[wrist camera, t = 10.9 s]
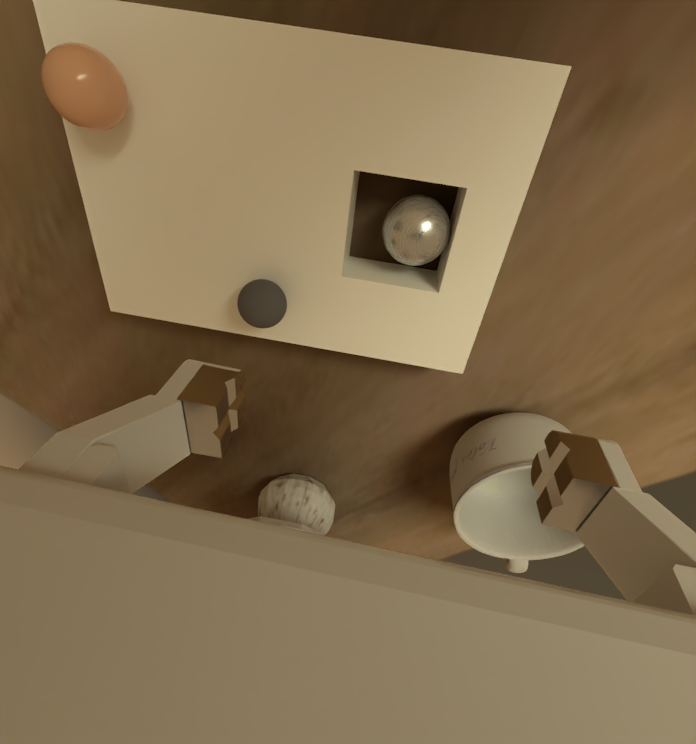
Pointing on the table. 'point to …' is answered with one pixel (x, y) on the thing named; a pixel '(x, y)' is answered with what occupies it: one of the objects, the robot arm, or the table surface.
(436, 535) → the table surface
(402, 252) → the steel ball
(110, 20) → the white slab
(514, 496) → the teacup
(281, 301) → the black rubber ball
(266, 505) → the decorative mushroom
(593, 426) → the table surface
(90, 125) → the terracotta ball
